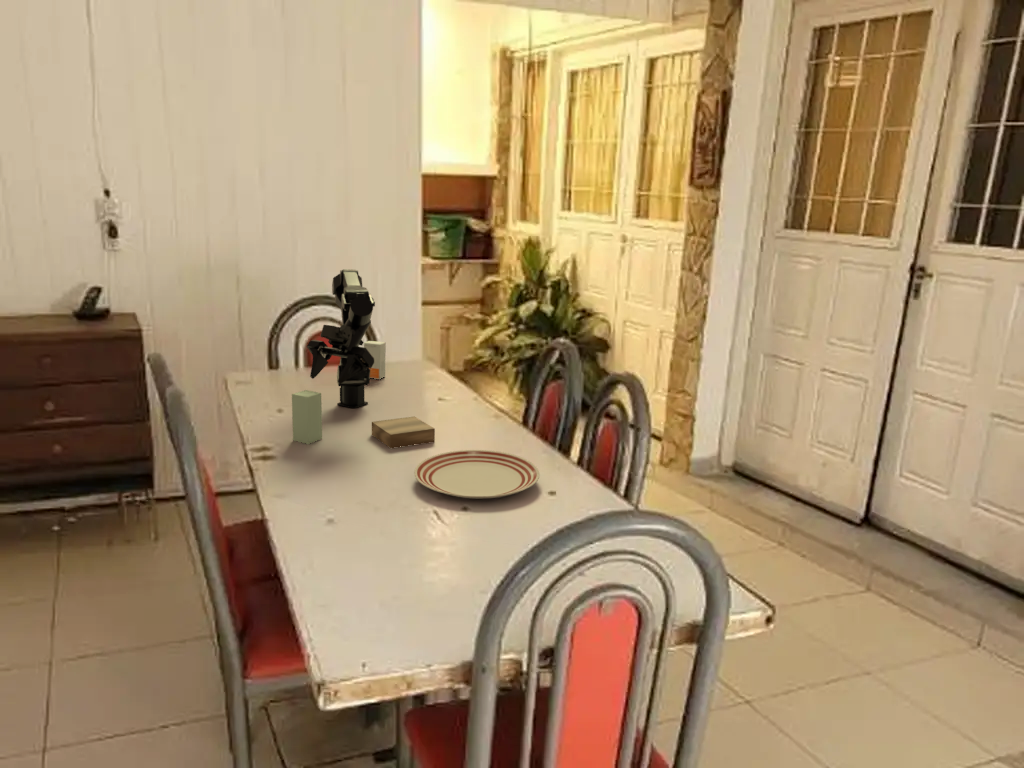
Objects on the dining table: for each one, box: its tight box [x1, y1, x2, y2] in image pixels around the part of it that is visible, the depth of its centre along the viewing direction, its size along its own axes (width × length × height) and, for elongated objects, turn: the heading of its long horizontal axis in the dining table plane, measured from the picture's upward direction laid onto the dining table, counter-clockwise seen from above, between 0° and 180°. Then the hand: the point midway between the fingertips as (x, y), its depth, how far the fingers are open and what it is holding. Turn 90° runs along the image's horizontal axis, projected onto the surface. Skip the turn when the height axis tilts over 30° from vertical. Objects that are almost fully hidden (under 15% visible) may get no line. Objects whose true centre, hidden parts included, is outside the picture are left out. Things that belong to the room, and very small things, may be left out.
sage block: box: [291, 389, 323, 445], centre depth 203 cm, size 5×5×12 cm
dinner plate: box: [413, 449, 541, 500], centre depth 180 cm, size 27×27×3 cm
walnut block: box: [371, 416, 436, 449], centre depth 208 cm, size 12×12×4 cm
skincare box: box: [363, 340, 387, 380], centre depth 269 cm, size 6×4×12 cm
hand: (325, 380), depth 208 cm, fingers open, 9 cm apart
